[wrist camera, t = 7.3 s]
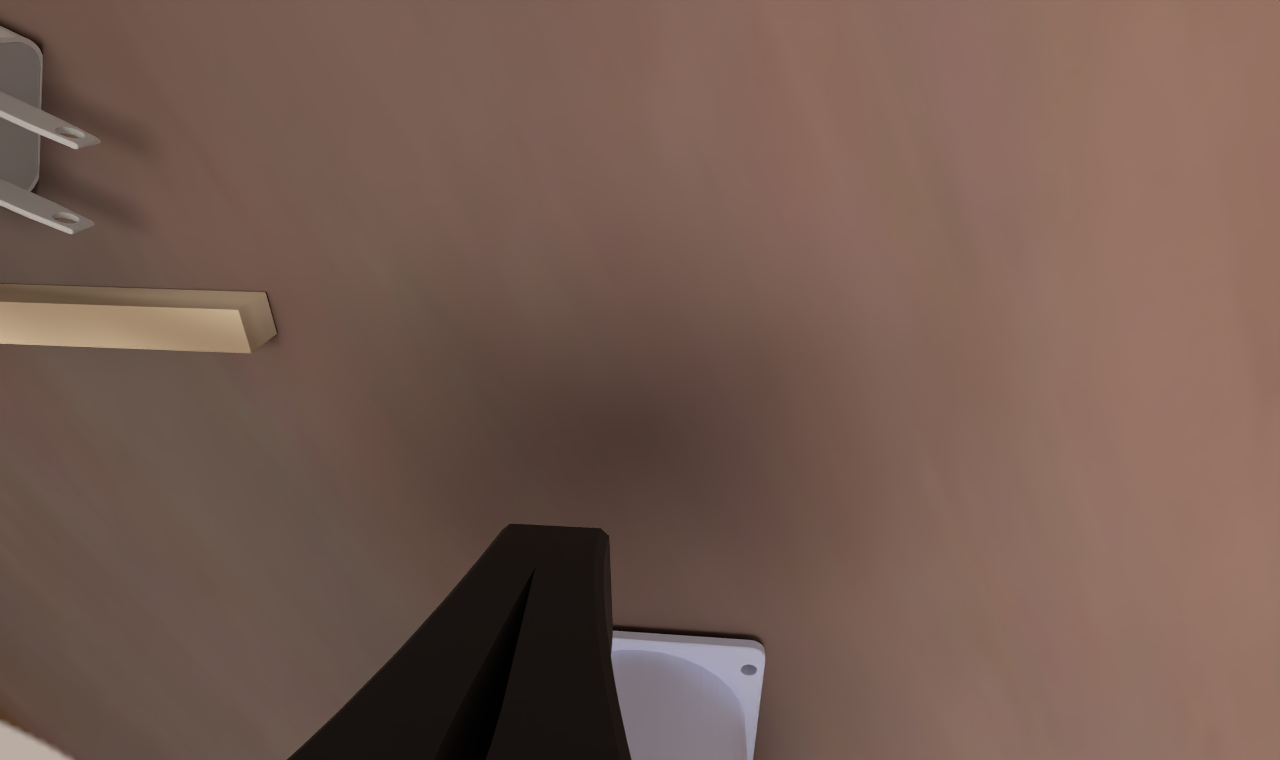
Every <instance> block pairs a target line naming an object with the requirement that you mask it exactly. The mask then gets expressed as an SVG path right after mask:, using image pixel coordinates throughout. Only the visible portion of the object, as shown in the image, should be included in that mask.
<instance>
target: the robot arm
mask: <svg viewBox="0 0 1280 760" xmlns="http://www.w3.org/2000/svg"><path fill="white" fill-rule="evenodd" d="M749 664H750V665H749ZM764 667H765V650H764V647H763V646H762V644H760V643H758V642H757V641H753V640H744V639H729V638H714V637H700V636H685V635H670V634H656V633H641V632H627V631H613V623H612V597H611V571H610V545H609V535H607V534H606V533H605V532H604V531H603V530H602V529H601V528H582V527H563V526H543V525H524V524H509V525H508V526H507V527H505V528H504V529H503V530H502V531H501V532H500V534H499V535H498V536H497V537H496V539H495V540H494V541H493V542H492V543H491V545H490V546H489V547H488V548H487V550H486V551H485V552H484V553H483V554H482V556H481V557H480V558H479V559H478V561H477V562H476V563H475V564H474V565H473V567H472V568H471V569H470V570H469V571H468V573H467V574H466V575H465V576H464V577H463V579H462V580H461V581H460V582H459V583H458V584H457V586H456V587H455V588H454V589H453V590H452V591H451V593H450V594H449V595H448V596H447V597H446V598H445V600H444V601H443V602H442V603H441V604H440V605H439V606H438V607H437V609H436V610H435V611H434V612H433V613H432V614H431V615H430V616H429V617H428V619H427V620H426V621H425V622H424V623H423V624H422V625H421V626H420V627H419V628H418V630H417V631H416V632H415V633H414V634H413V635H412V636H411V637H410V638H409V640H408V641H407V642H406V643H405V644H404V645H403V646H402V647H401V648H400V649H399V650H398V652H397V653H396V654H395V655H394V656H393V657H392V658H391V659H390V660H389V661H388V662H387V663H386V664H385V665H384V666H383V667H382V668H381V669H380V670H379V671H378V672H377V673H376V674H375V675H374V676H373V677H372V678H371V679H370V680H369V681H368V682H367V683H366V684H365V685H364V686H363V687H362V688H361V689H360V690H359V691H358V692H357V693H356V694H355V695H354V696H353V697H352V698H351V699H350V700H349V701H348V702H347V703H346V704H345V705H344V706H343V707H342V708H341V709H340V710H339V711H338V712H337V713H336V714H335V715H334V716H333V717H332V718H331V719H330V720H329V721H328V722H327V723H326V724H325V725H324V726H323V727H322V728H321V729H320V730H319V731H317V732H316V733H315V734H314V735H313V736H312V737H311V738H310V739H309V740H308V741H307V742H306V743H305V744H304V745H302V746H301V747H300V748H299V749H298V750H297V751H296V752H295V753H294V754H293V755H292V756H290V757H289V758H288V759H287V760H753V755H754V747H755V739H756V731H757V723H758V715H759V707H760V699H761V691H762V683H763V675H764Z"/></svg>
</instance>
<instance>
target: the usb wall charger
mask: <svg viewBox="0 0 1280 760" xmlns="http://www.w3.org/2000/svg"><path fill="white" fill-rule="evenodd" d="M42 68H43V55H42V53H41V51H40V49H39V47H38V46H37V45H36V44H35V43H34V42H32V41H31V40H29V39H27V38H25V37H23V36H21V35H19V34H17V33H14V32H12V31H10V30H8V29H6V28H4V27H2V26H0V206H3V207H5V208H7V209H10V210H12V211H14V212H17V213H19V214H21V215H23V216H26V217H28V218H30V219H33V220H36V221H38V222H41V223H43V224H46V225H48V226H51V227H53V228H56V229H58V230H61V231H63V232H66V233H68V234H74V233H77V232H79V231H82V230H85V229H88V228H91V227H93V226H94V225H95V224H94V222H92V221H91V220H89V219H87V218H85V217H83V216H81V215H79V214H77V213H75V212H73V211H71V210H69V209H67V208H65V207H63V206H61V205H59V204H57V203H54V202H52V201H50V200H48V199H45V198H43V197H41V196H39V195H36V194H34V193H32V192H31V190H32V189H33V188H34V187H35V185H36V183H37V182H38V179H39V166H40V135H42V136H45V137H47V138H49V139H52V140H54V141H57V142H59V143H61V144H64V145H66V146H69V147H71V148H73V149H80V148H84V147H89V146H93V145H97V144H100V143H101V141H100V139H99V138H97V137H95V136H93V135H91V134H89V133H87V132H85V131H83V130H81V129H79V128H77V127H75V126H73V125H71V124H69V123H67V122H66V121H64V120H62V119H60V118H57V117H55V116H53V115H51V114H49V113H46V112H44V111H42V110H41V101H42ZM61 133H64V134H71V135H75V136H77V137H80V138H70V137H66V136H63V135H61ZM55 218H67V219H71V220H74V221H76V222H77V223H72V224H69V223H62V222H59V221H56V220H55Z"/></svg>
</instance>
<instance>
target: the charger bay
mask: <svg viewBox="0 0 1280 760" xmlns="http://www.w3.org/2000/svg"><path fill="white" fill-rule="evenodd" d="M276 334H277V332H276V328H275V325H274V321H273V317H272V314H271V310H270V307H269V303H268V299H267V296H266V292H244V291H212V290H181V289H150V288H118V287H87V286H55V285H24V284H0V344H26V345H52V346H77V347H103V348H129V349H154V350H180V351H206V352H231V353H252V352H254V351H255V350H256V349H258V348H259V347H260V346H262V345H263V344H264V343H266V342H267V341H268V340H269V339H271V338H272V337H273V336H275V335H276Z"/></svg>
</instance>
